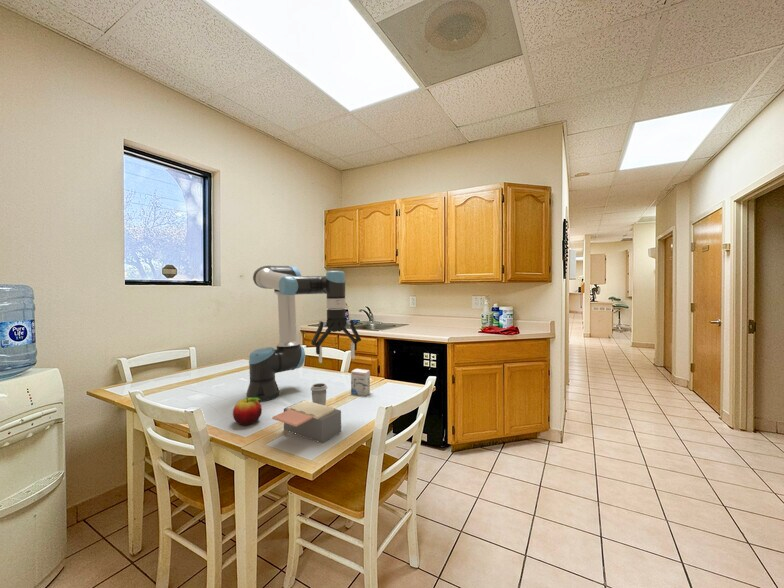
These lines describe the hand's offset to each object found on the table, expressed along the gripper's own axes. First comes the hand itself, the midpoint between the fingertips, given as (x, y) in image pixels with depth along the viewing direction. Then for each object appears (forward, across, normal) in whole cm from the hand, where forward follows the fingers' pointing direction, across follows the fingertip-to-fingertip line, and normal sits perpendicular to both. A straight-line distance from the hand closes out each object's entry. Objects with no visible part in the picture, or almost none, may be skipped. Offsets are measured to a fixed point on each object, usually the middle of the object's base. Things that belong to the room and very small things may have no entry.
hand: (336, 360), depth 134 cm
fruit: (+24, -34, +12) cm, 44 cm away
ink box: (+24, +18, +24) cm, 39 cm away
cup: (+24, -6, +10) cm, 27 cm away
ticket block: (+24, -12, -7) cm, 28 cm away
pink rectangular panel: (+16, -20, -12) cm, 28 cm away
